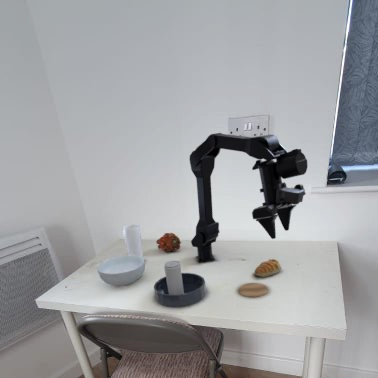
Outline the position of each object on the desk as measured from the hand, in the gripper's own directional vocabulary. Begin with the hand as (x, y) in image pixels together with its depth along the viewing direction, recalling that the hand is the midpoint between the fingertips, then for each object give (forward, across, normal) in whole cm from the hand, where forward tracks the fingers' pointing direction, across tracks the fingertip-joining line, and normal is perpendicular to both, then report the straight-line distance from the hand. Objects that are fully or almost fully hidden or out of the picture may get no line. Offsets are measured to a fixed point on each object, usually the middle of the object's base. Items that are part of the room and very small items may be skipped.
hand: (280, 234), depth 100 cm
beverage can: (+11, -27, +24) cm, 38 cm away
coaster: (+14, -11, +7) cm, 19 cm away
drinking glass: (+2, -10, +59) cm, 60 cm away
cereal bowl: (+5, -25, +50) cm, 57 cm away
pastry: (+14, +3, +9) cm, 17 cm away
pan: (+10, -24, +25) cm, 36 cm away
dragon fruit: (+3, +6, +56) cm, 56 cm away
